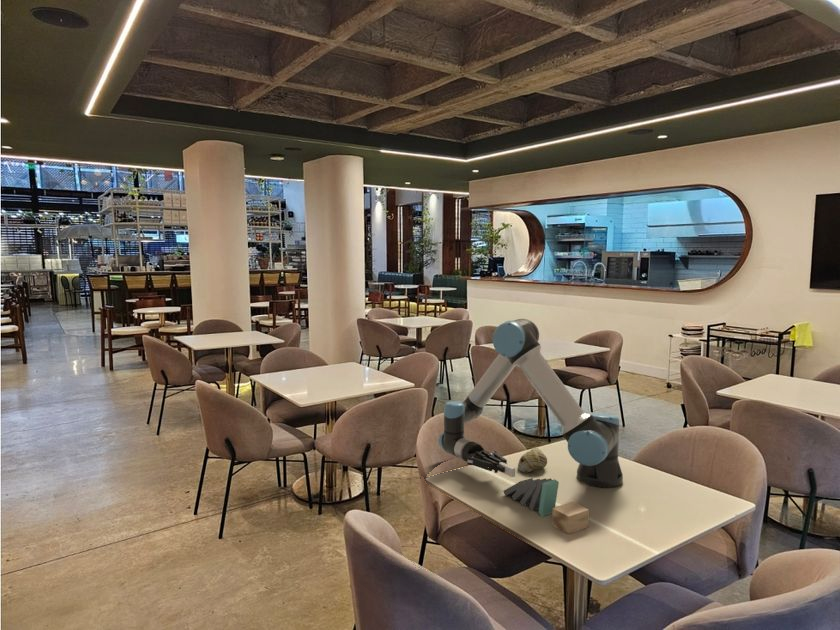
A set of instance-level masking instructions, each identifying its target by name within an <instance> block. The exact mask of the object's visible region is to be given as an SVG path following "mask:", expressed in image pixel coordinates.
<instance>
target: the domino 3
mask: <svg viewBox="0 0 840 630" xmlns="http://www.w3.org/2000/svg"><path fill="white" fill-rule="evenodd" d="M546 479H547V478H546V477H545V478H543V479H540V480H538V481H534V482H533V483H532V485H531V486H530V488H529V489H528V491H527V492H526V494H525V495H524V497H523V498H522V499H520V503H521V505H522V506H523V507H524V506H526V505H527V506H528V505H530V503H531V500H532V498H533V495H534V492H535V490H536V487H537V484H538V482H539V481H543V480H546Z"/></svg>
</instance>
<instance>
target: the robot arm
mask: <svg viewBox="0 0 840 630" xmlns="http://www.w3.org/2000/svg"><path fill="white" fill-rule="evenodd" d="M539 339H540V332H539V329H538V327H537V325H536V324H535V322H533V321H532V320H530V319H527V318H518V319H515V320H507V321H505V322H503V323H501V324H499V325H497V327H496V329H495V330H494V332H493V335H492V345H493V348H494V350H495V352H497V353H498V355H497V356H496V357H495V358H494V360H493V361H492V363H491V364H490V365H489V366H488V368H487V369H486V371H485V372H484V373H483V375H482V376H481V378H480V379H479V380H478V382H477V383H476V385H475V386H474V387H473V388H472V390H471V391H470V392H469V393H468V395H467V396H466V398H465V400H463V402H462V401H459V400H451V401H447V402H445V403H444V409H443V431H442V432H441V433H440V435H439V438H438V445H439V447H440V448H441V450H443V451H445V453H448V454H450V455H452V456H454V457H456V458H459V459H460V460H462V461H463V462H466V463H467V464H466V465H469V466H473V467H476V468H480V469H483V470H485V471H489V472H492V471H494V473H495V474H497V473H498V472H500V473H502V474H504V475H507V476H509V477H510V478H515V477H516V467H513V466H511V465H509V464H508V460H507V459H506V458H505V457H503V456H502V455H501V454H499V453H498V451H497V450H493V451H492V452H490V451H487V450H485V449H484V448H483V446H482V445H481V444H479V443H477V442H476V441H474V440H470V439H469V438H466V437H465V424H467V423H468V422H470V421H472V420H476V419H477V418H478V417H480V416H481V415H482V413H483V411H484V407H485V406H486V405H487V403H488V402H489V401H490V399H491V398H492V397H493V396H494V395H495V393H496V392H497V390H498V389H499V388H500V386H501V385H502V384H503V383H504V382H505V380H506V379H507V378H508V376H509V375H510V374H511V372H512V371H513V370H514V368H515V367H518V368H519V369H520V371H522V373H523V374H524V375H525V377H526V378H527V380H528V381H529V383H530V384H531V385H532V387H533V388H534V390H535V391H536V392H537V394H538V395H539V396H540V398H541V399H542V401H543V402H544V403H545V405H546V406H547V407H548V409H549V411H550V412H551V414H553V416H554V417H555V419H556V420H557V421H558V423H559V424H560V425H561V428H562V430H561V435H562V436H563V438H564V440H565V441H566V442H567V450H568V453H569V456H571V458H572V459H573V460H574V461H575V462H576V463H578V467H577V469H576V479H578V481H579V482H581V483H583V484H586V485H589V486H592V487H598V488H616V487H619V486H621V485H622V484H623V479H624V478H623V477H624V475H623V472H622V469H621V464H620V462H619V442H620V440H619V438H620V437H619V436H620V428H621V424H620V419H619V417H618V416H616V415H615V414H610V413H605V412H604V413H603V412H596V411H595V412H591V411H590V412H589V411H588V412H585V411H584V410H583V408H581V406H580V405H579V403H578V402H577V401H576V399H575V398H574V397H573V395H572V394H571V393H570V391H569V390H568V388H567V386H566V385H565V384H564V383H563V381H562V380H561V379H560V378H559V376H558V375H557V373H556V372H555V371H554V369H553V368H552V367H551V365H550V364H549V362H548V361H547V360H546V359H545V357H544V356H543V354H542V353H541V350H542V349H541V347H542V346H541V344H540V342H539Z"/></svg>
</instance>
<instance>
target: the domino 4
mask: <svg viewBox="0 0 840 630" xmlns="http://www.w3.org/2000/svg"><path fill="white" fill-rule="evenodd" d="M551 480H553V479H552V478H551V477H550V478H546V480H543V481H539V482H538V484H537V487H536V490H535V492H534V495H533V498H532V500H531V503H530V504H528V508H529V509H530V510H531V511H532V512H533V511H536V510H539V506H540V498H541V491H542V484H543V483H544V482H547V481H551Z"/></svg>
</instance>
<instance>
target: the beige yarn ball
mask: <svg viewBox="0 0 840 630" xmlns="http://www.w3.org/2000/svg"><path fill="white" fill-rule="evenodd" d="M547 464H548V458H547V456H546V454H545V453H544V452H542V450H541V449H540V448H539V447H534V448H531V449H530V450H528V451H527V452H526V453H524V454H523V455H521V457H520V458H519V460H518V464H517V470H518V471H519V470H520V471H519V472H521V471H522V472H521V473H529V472H532V471H533V470H535V469H538V470H542V469H545V467H546V466H547Z"/></svg>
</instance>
